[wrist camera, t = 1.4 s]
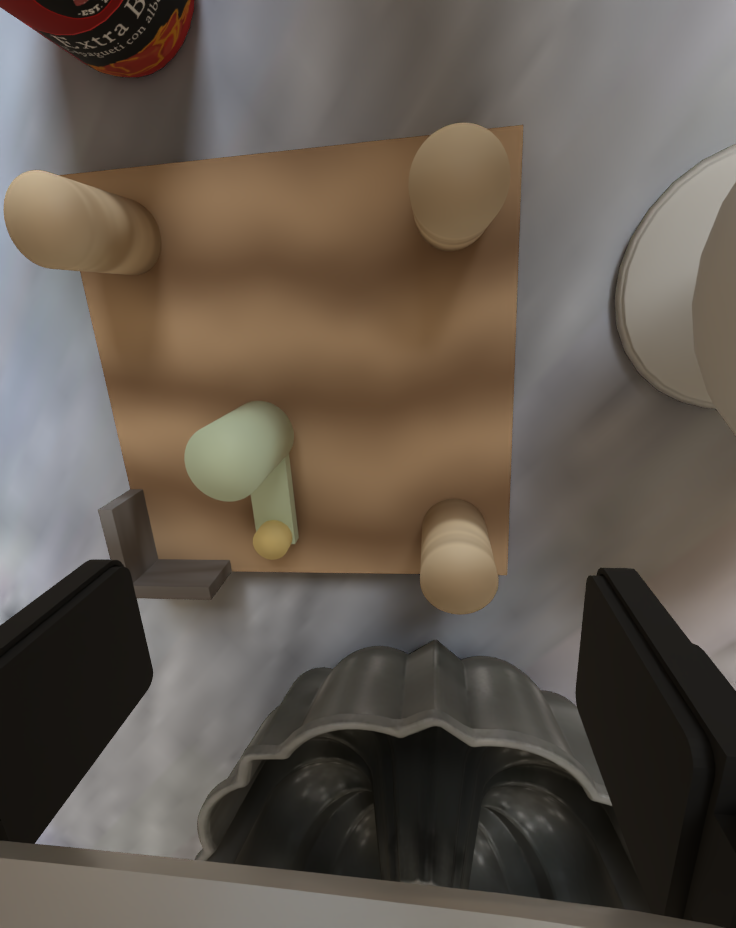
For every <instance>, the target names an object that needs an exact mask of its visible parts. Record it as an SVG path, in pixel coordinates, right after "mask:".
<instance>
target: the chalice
mask: <svg viewBox="0 0 736 928" xmlns="http://www.w3.org/2000/svg"><path fill="white" fill-rule="evenodd" d="M615 312H616V326H617V329H618V332H619V335H620V339H621V342H622V345H623V348H624V351H625V353H626V354H627V356H628V357H629V359H630V360H631V362H632V364H633V365H634V367H635V368H636V370H637V371H638V373H639V374H640V375H641V376H642V377H644V378H645V379H646V380H647V381H648V382H649V383H650V384H651V385H652V386H654V387H655V388H656V389H657V390H658V391H660V392H662V393H664V394H666V395H668V396H670V397H672V398H674V399H676V400H678V401H680V402H683V403H687V404H691V405H695V406H699V407H703V408H711V409H717V410H718V412H719V413H720V415H721V416H722V418H723V419H724V420H725V422H726V423H727V425H728V426H729V427H730V429H731V430H732V432H733V433H734V434H735V436H736V144H734V145H732V146H730V147H728V148H726V149H724V150H722V151H720V152H718V153H716V154H714V155H712V156H710V157H708V158H706V159H704V160H702V161H701V162H699V163H698V164H697V165H695V166H694V167H693V168H691V169H690V170H689V171H688V172H686V173H685V174H684V175H682V176H681V177H680V178H678V179H677V180H676V181H674V182H673V183H672V184H671V185H670V186H669V187H668V189H667V190H666V191H665V192H664V193H663V194H662V195H661V196H660V197H659V198H658V200H657V201H656V202H655V203H654V204H653V205H652V206H651V207H650V208H649V210H648V211H647V213H646V214H645V216H644V218H643V219H642V221H641V222H640V224H639V226H638V227H637V229H636V230H635V232H634V234H633V235H632V237H631V239H630V241H629V244H628V247H627V249H626V252H625V255H624V257H623V260H622V262H621V265H620V268H619V273H618V280H617V286H616V292H615Z"/></svg>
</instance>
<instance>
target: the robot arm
mask: <svg viewBox="0 0 736 928" xmlns="http://www.w3.org/2000/svg"><path fill="white" fill-rule="evenodd" d="M152 678H153V668H152V664H151V660H150V655H149V651H148V646H147V642H146V638H145V633H144V629H143V625H142V620H141V616H140V612H139V607H138V603H137V598H136V594H135V590H134V585H133V581H132V577H131V573H130V570H129V569H128V568H126V567H124V565H123V564H122V563H121V562H120V561H118V560H89V561H87V562H85V563H84V564H82V565H81V566H80V567H78V568H77V569H76V570H74V571H73V572H72V573H70V574H69V575H68V576H66V577H65V578H64V579H62V580H61V581H60V582H58V583H57V584H56V585H54V586H53V587H52V588H50V589H49V590H47V591H46V592H45V593H43V594H42V595H41V596H39V597H38V598H37V599H35V600H34V601H33V602H31V603H30V604H29V605H27V606H26V607H25V608H23V609H22V610H21V611H19V612H18V613H17V614H15V615H14V616H13V617H11V618H10V619H9V620H7V621H6V622H5V623H3V624H2V625H0V928H736V691H735V690H734V688H733V687H732V686H731V685H730V683H729V682H728V681H727V679H726V678H725V677H724V676H723V674H722V673H721V672H720V671H719V669H718V668H717V667H716V666H715V664H714V663H713V662H712V660H711V659H710V658H709V657H708V655H707V654H706V653H705V652H704V651H703V650H702V649H701V648H700V647H699V646H697V645H695V644H692V643H691V642H690V640H689V639H688V638H687V636H686V635H685V634H684V632H683V631H682V630H681V629H680V627H679V626H678V625H677V623H676V622H675V621H674V619H673V618H672V617H671V616H670V614H669V613H668V612H667V610H666V609H665V608H664V607H663V605H662V604H661V603H660V601H659V600H658V599H657V597H656V596H655V595H654V594H653V592H652V591H651V590H650V588H649V587H648V586H647V584H646V583H645V582H644V581H643V579H642V578H641V577H640V575H639V574H638V573H637V572H636V571H635V570H634V569H628V568H600V569H599V570H598V572H597V576H589V577H588V578H587V583H586V592H585V602H584V612H583V622H582V632H581V642H580V652H579V662H578V672H577V682H576V703H577V709H578V712H579V715H580V718H581V721H582V723H583V726H584V729H585V732H586V734H587V737H588V740H589V743H590V746H591V748H592V751H593V754H594V757H595V759H596V762H597V765H598V768H599V770H600V773H601V776H602V779H603V781H604V784H605V787H606V790H607V792H608V795H609V798H610V801H611V804H612V806H613V809H614V812H615V815H616V817H617V820H618V823H619V826H620V828H621V831H622V834H623V837H624V839H625V842H626V845H627V848H628V850H629V853H630V856H631V859H632V861H633V864H634V867H635V870H636V873H637V875H638V878H639V881H640V884H641V886H642V889H643V892H644V895H645V897H646V900H647V903H648V906H649V908H650V911H651V913H652V914H650V913H645V912H639V911H633V910H625V909H617V908H610V907H602V906H594V905H586V904H579V903H571V902H563V901H556V900H548V899H540V898H533V897H525V896H517V895H510V894H502V893H493V892H484V891H475V890H466V889H457V888H448V887H439V886H430V885H421V884H412V883H403V882H394V881H385V880H376V879H367V878H358V877H349V876H340V875H331V874H322V873H313V872H303V871H294V870H284V869H275V868H265V867H256V866H246V865H237V864H227V863H218V862H208V861H199V860H189V859H179V858H170V857H160V856H150V855H141V854H131V853H121V852H111V851H102V850H92V849H82V848H71V847H61V846H51V845H40V844H35V842H36V841H37V840H38V838H39V837H40V835H41V834H42V833H43V831H44V830H45V829H46V827H47V826H48V825H49V823H50V822H51V821H52V819H53V818H54V816H55V815H56V814H57V812H58V811H59V810H60V808H61V807H62V806H63V804H64V803H65V801H66V800H67V799H68V797H69V796H70V795H71V793H72V792H73V791H74V789H75V788H76V787H77V785H78V784H79V782H80V781H81V780H82V778H83V777H84V776H85V774H86V773H87V772H88V770H89V769H90V768H91V766H92V765H93V763H94V762H95V761H96V759H97V758H98V757H99V755H100V754H101V753H102V751H103V750H104V749H105V747H106V746H107V744H108V743H109V742H110V740H111V739H112V738H113V736H114V735H115V734H116V732H117V731H118V729H119V728H120V727H121V725H122V724H123V723H124V721H125V720H126V719H127V717H128V716H129V715H130V713H131V712H132V710H133V709H134V708H135V706H136V705H137V704H138V702H139V701H140V700H141V698H142V697H143V696H144V694H145V693H146V691H147V690H148V688H149V687H150V685H151V682H152Z"/></svg>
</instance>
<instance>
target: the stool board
mask: <svg viewBox="0 0 736 928" xmlns="http://www.w3.org/2000/svg"><path fill="white" fill-rule="evenodd" d="M522 146H523V125H517V126H508V127H499V128H490V129H486V128H484V127H482V126H480V125H476V124H473V123H455V124H451V125H448V126H445V127H443V128H441V129H439V130H437V131H436V132H435V133H433V134H432V135H425V136H416V137H407V138H398V139H389V140H379V141H370V142H361V143H352V144H343V145H334V146H324V147H315V148H306V149H297V150H288V151H278V152H269V153H260V154H251V155H242V156H232V157H223V158H214V159H205V160H196V161H187V162H177V163H168V164H159V165H150V166H141V167H131V168H122V169H113V170H104V171H95V172H85V173H76V174H67V175H56V174H53V173H50V172H46V171H41V170H32V171H27V172H25V173H22V174H21V175H19V176H18V177H16V178H15V179H14V180H13V182H12V183H11V184H10V186H9V188H8V190H7V192H6V195H5V199H4V219H5V223H6V227H7V230H8V233H9V235H10V237H11V239H12V241H13V243H14V244H15V245H16V247H17V248H18V249H19V251H20V252H21V253H22V254H23V255H24V256H25V257H26V258H28V259H29V260H30V261H32V262H33V263H35V264H37V265H39V266H42V267H45V268H50V269H61V270H73V271H80V273H81V277H82V281H83V286H84V290H85V294H86V299H87V303H88V307H89V312H90V316H91V320H92V325H93V329H94V333H95V338H96V342H97V346H98V351H99V355H100V359H101V364H102V368H103V372H104V377H105V381H106V385H107V390H108V394H109V398H110V403H111V407H112V411H113V416H114V420H115V424H116V429H117V433H118V437H119V442H120V446H121V450H122V455H123V459H124V463H125V468H126V472H127V476H128V481H129V485H130V490H129V491H127V492H126V493H124V494H122V495H121V496H119V497H118V498H116V499H114V500H113V501H111V502H110V503H108V504H107V505H105V506H103V507H102V508H100V509H99V510H98V512H99V516H100V520H101V524H102V528H103V532H104V536H105V540H106V544H107V547H108V551H109V555H110V559H111V560H118V561H120V562H121V563H122V564H123V565H124V567H126V568H128V569H129V570H130V573H131V577H132V581H133V585H134V590H135V594H136V598H153V599H198V600H211V599H212V598H213V596H214V595H215V594H216V592H217V591H218V590H219V588H220V587H221V586H222V584H223V583H224V581H225V580H226V579H227V577H228V576H229V575H230V573H231V572H232V571H240V572H312V573H383V574H420V586H421V589H422V592H423V594H424V596H425V597H426V599H427V600H428V601H429V602H430V603H431V604H432V605H433V606H435V607H436V608H438V609H439V610H442V611H444V612H447V613H451V614H469V613H473V612H476V611H478V610H480V609H482V608H484V607H485V606H486V605H487V604H489V603H490V602H491V600H492V599H493V598H494V596H495V594H496V592H497V589H498V575H507V564H508V536H509V508H510V480H511V453H512V425H513V397H514V369H515V341H516V313H517V285H518V257H519V230H520V202H521V174H522ZM252 401H265V402H269V403H271V404H274V405H275V406H277V407H279V408H280V409H281V410H282V411H283V412H284V413H285V414H286V415H287V416H288V418H289V420H290V422H291V424H292V427H293V431H294V442H293V446H292V448H291V450H290V452H289V458H290V467H291V475H292V484H293V493H294V501H295V510H296V518H297V527H298V535H299V538H298V540H297V542H296V543H295V544H291V545H290V547H289V549H288V550H287V552H286V554H285V555H284V556H283V557H281V558H279V559H275V560H270V559H266V558H264V557H262V556H260V555H259V554H258V553H257V552H256V550H255V548H254V546H253V537H254V534H255V533H256V528H255V521H254V514H253V507H252V501H251V494H250V495H249V496H248V497H246V498H244V499H241V500H238V501H231V502H228V501H220V500H216V499H214V498H211V497H209V496H207V495H206V494H204V493H203V492H202V491H200V490H199V489H198V488H197V487H196V486H195V485H194V483H193V482H192V480H191V479H190V477H189V475H188V473H187V470H186V467H185V461H184V454H185V449H186V445H187V443H188V441H189V439H190V438H191V437H192V435H193V434H194V433H196V432H197V431H198V430H200V429H201V428H203V427H205V426H207V425H208V424H210V423H212V422H214V421H216V420H217V419H219V418H221V417H223V416H224V415H226V414H228V413H230V412H232V411H233V410H235V409H237V408H239V407H240V406H242V405H244V404H246V403H249V402H252Z"/></svg>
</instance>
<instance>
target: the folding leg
mask: <svg viewBox="0 0 736 928" xmlns="http://www.w3.org/2000/svg"><path fill="white" fill-rule="evenodd" d="M293 442H294V431H293V427H292V424H291V422H290V420H289V418H288V416H287V415H286V414H285V413H284V412H283V411H282V410H281V409H280V408H279V407H277V406H275V405H274V404H271V403H269V402H265V401H252V402H249V403H246V404H244V405H242V406H240V407H239V408H237V409H235V410H233V411H232V412H230V413H228V414H226V415H224V416H223V417H221V418H219V419H217V420H216V421H214V422H212V423H210V424H208V425H207V426H205V427H203V428H201V429H200V430H198V431H197V432H196V433H194V434H193V435H192V437H191V438H190V439H189V441H188V443H187V445H186V449H185V454H184V461H185V467H186V470H187V473H188V475H189V477H190V479H191V480H192V482H193V483H194V485H195V486H196V487H197V488H198V489H199V490H200V491H202V492H203V493H204V494H206V495H207V496H209V497H211V498H214V499H216V500H220V501H228V502H231V501H238V500H241V499H244V498H246V497H248V496H249V495H250V494H251V501H252V507H253V514H254V521H255V528H256V533H255V534H254V537H253V546H254V548H255V550H256V552H257V553H258V554H259V555H260V556H262V557H264V558H266V559H270V560H275V559H279V558H281V557H283V556H284V555H285V554H286V552H287V550H288V549H289V547H290V545H291V544H295V543H296V542H297V540H298V538H299V535H298V527H297V518H296V510H295V501H294V493H293V484H292V475H291V467H290V458H289V452H290V450H291V448H292V446H293Z"/></svg>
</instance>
